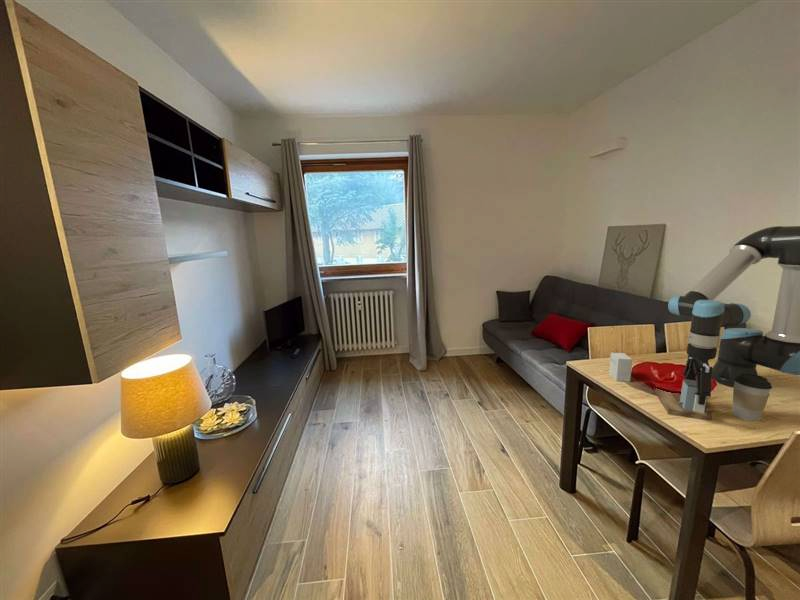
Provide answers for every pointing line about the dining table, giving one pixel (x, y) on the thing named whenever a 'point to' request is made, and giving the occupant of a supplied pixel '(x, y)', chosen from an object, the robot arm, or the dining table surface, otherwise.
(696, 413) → the board
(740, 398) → the coffee cup
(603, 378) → the dining table surface
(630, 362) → the small box
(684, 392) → the grey tall block
